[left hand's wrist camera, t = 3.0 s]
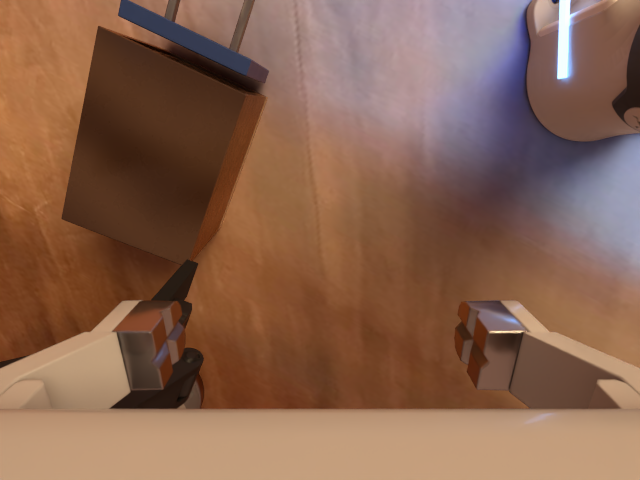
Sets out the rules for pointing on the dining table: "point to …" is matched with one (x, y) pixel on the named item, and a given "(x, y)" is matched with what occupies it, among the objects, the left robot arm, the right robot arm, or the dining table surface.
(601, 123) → the left robot arm
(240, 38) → the drawer
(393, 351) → the dining table surface
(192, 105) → the brown rectangular box
